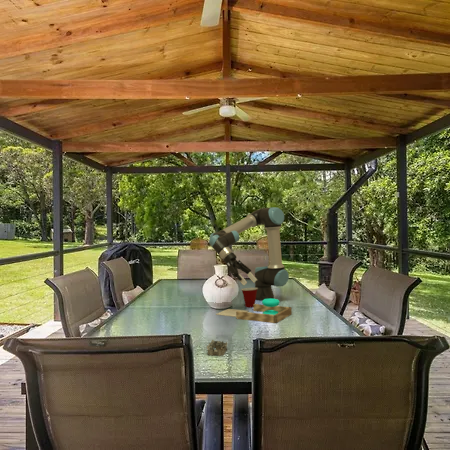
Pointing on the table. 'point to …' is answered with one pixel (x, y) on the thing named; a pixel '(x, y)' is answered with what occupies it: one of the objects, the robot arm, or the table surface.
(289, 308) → the wooden u-shaped frame
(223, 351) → the rough brown lump
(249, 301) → the plastic cup
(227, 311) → the beige mat
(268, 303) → the donuts
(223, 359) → the table surface
